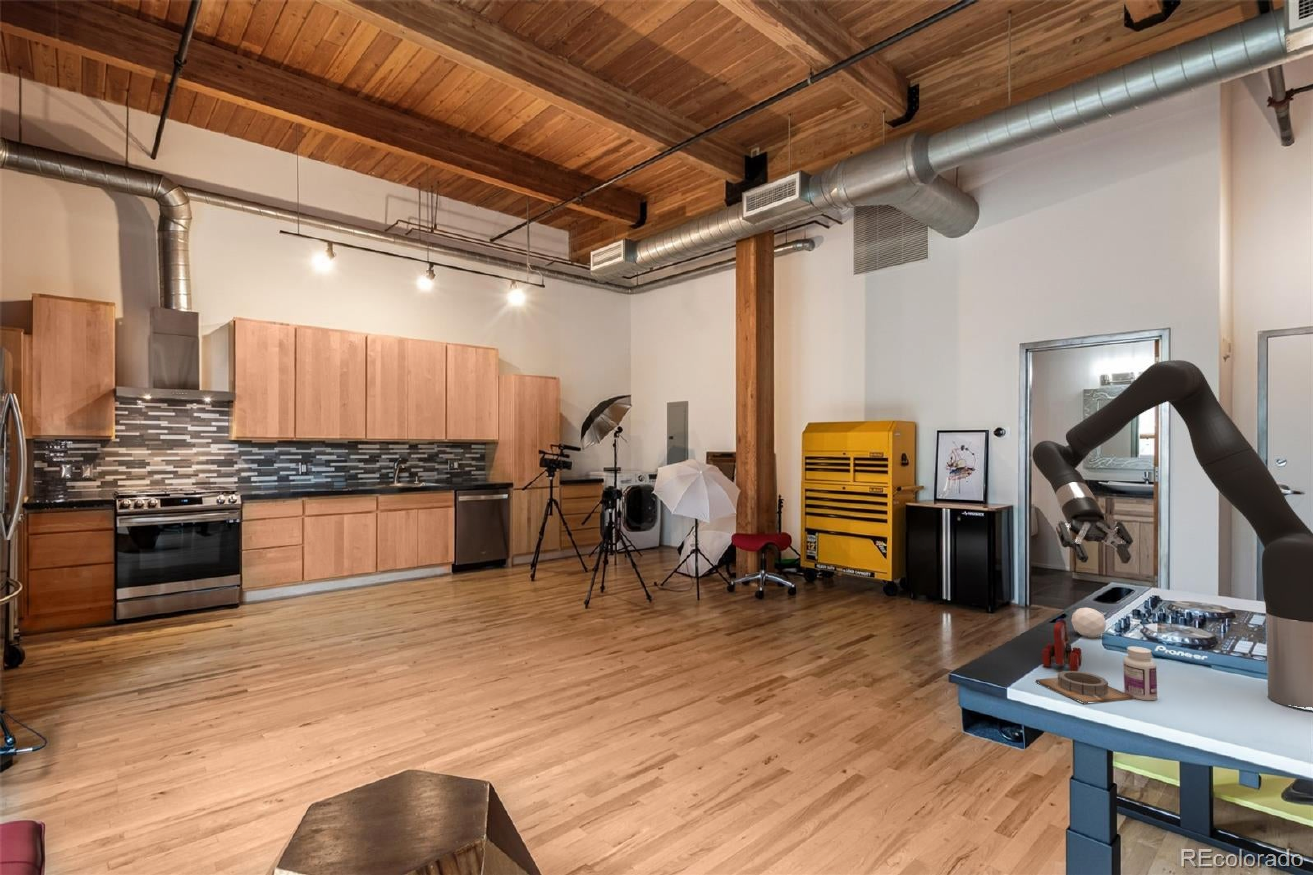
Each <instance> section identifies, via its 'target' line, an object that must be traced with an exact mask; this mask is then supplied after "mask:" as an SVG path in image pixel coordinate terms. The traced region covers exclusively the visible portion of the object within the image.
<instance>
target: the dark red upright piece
mask: <svg viewBox="0 0 1313 875" xmlns="http://www.w3.org/2000/svg"><path fill="white" fill-rule="evenodd" d="M1052 630H1053V643H1054V644H1053V643H1049V642H1048V643H1046V648H1043V649H1042V653H1041V658H1042V659H1041V660H1042V662H1041V663H1042V666H1043V667H1048V668H1051V667H1052V664H1053V663H1052V662H1055V665H1058V666H1065V664H1068V665H1069V671H1079V667H1080V666H1082V660H1083V657H1082V656H1083V655H1082V648H1080V647H1075V646H1074V647H1072V645H1071V644H1069V642H1070V640H1071V639H1070V637H1069V634H1068V630H1067V622H1066V621H1065V619H1063V618H1057V619H1056V620H1055V624H1054V625H1053V629H1052Z"/></svg>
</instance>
